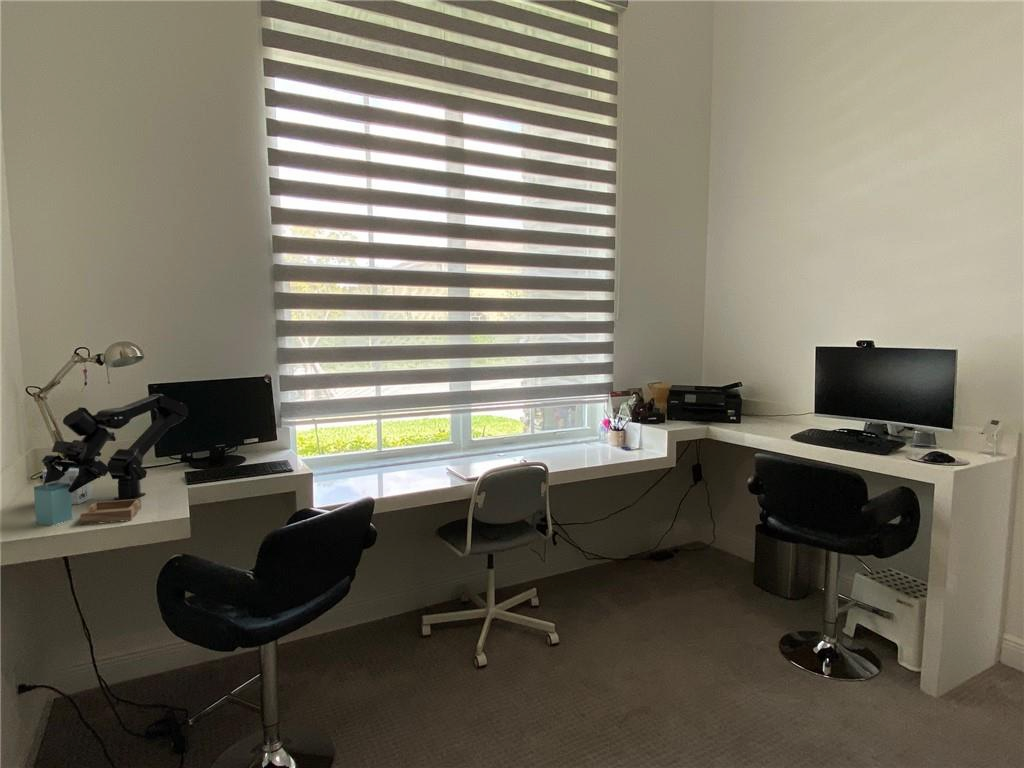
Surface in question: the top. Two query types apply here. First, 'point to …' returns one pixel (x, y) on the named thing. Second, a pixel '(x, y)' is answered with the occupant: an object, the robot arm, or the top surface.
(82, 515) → the tray
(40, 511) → the light blue block
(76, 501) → the light bulb box
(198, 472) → the top surface
